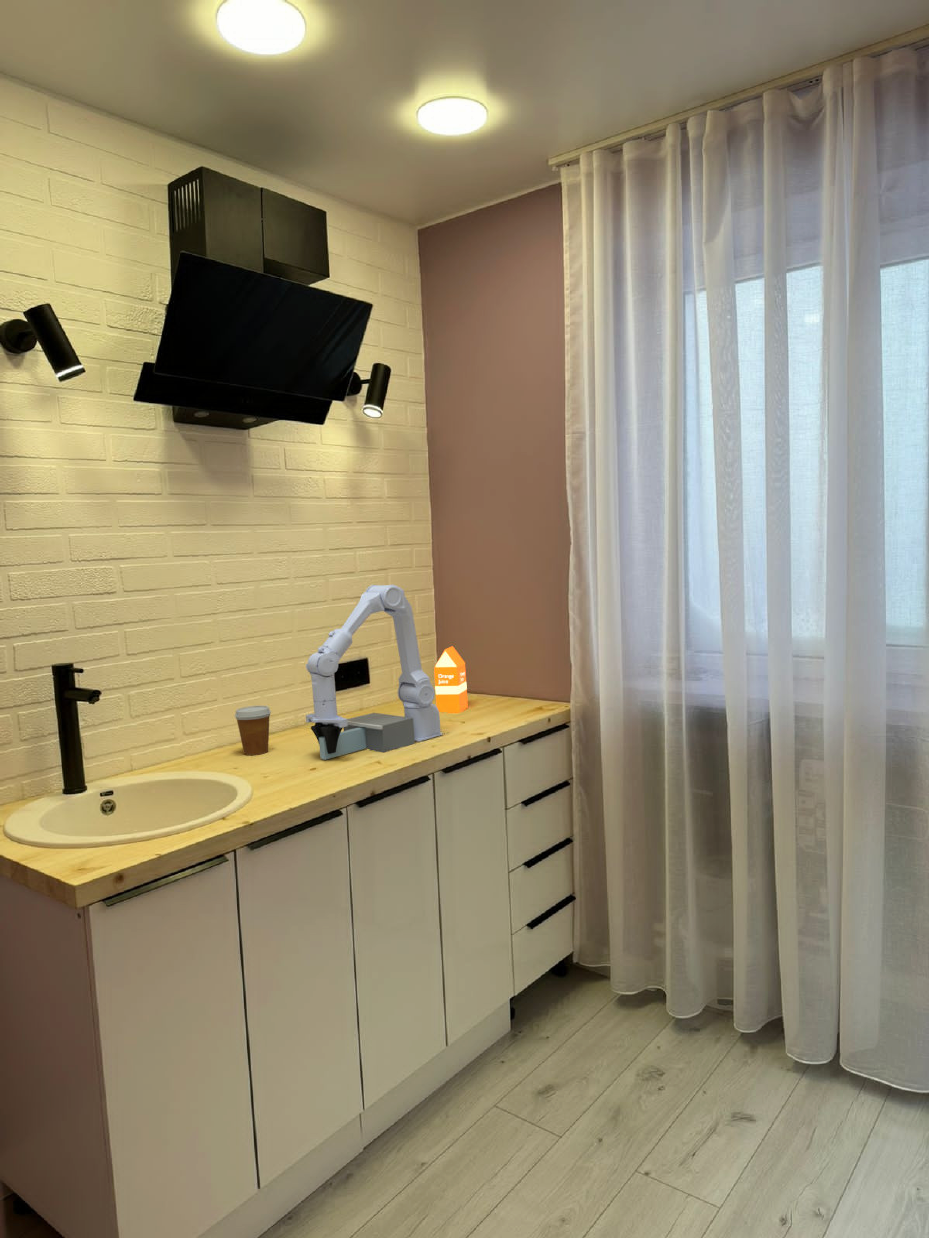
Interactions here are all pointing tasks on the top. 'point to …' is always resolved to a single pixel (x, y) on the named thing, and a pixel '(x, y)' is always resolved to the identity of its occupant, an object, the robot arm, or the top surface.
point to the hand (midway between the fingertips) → (328, 752)
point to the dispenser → (384, 730)
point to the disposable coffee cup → (254, 729)
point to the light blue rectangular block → (345, 743)
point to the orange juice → (450, 682)
